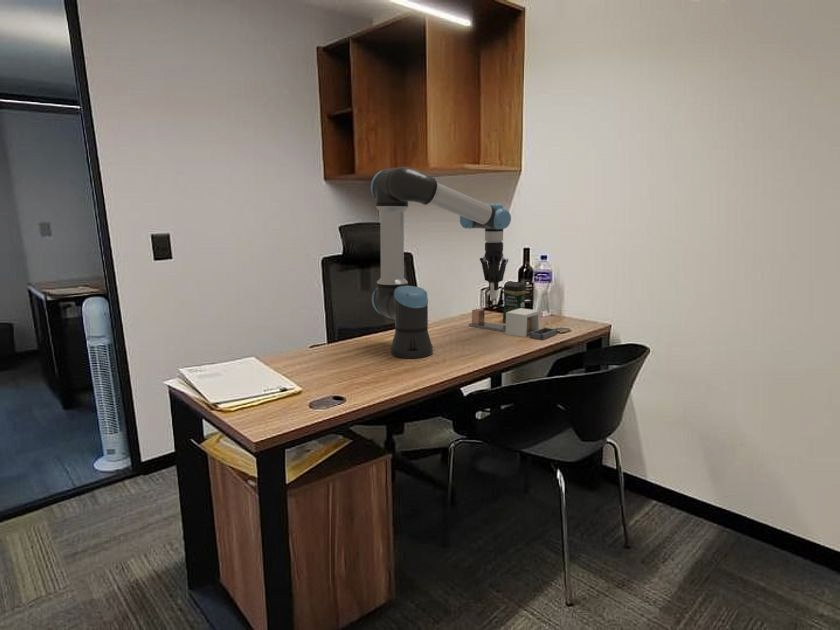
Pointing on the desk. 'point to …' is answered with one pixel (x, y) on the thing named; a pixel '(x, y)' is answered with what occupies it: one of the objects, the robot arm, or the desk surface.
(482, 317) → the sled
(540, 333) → the tray
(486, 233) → the robot arm
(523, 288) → the coffee jar
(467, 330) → the desk surface
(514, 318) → the tunnel
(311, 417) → the desk surface
